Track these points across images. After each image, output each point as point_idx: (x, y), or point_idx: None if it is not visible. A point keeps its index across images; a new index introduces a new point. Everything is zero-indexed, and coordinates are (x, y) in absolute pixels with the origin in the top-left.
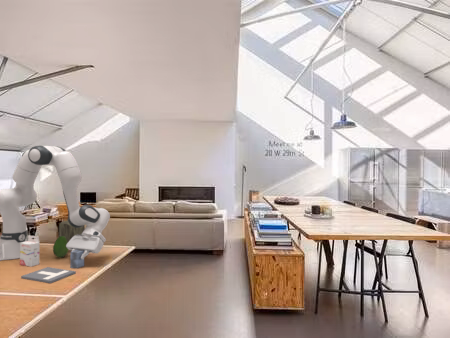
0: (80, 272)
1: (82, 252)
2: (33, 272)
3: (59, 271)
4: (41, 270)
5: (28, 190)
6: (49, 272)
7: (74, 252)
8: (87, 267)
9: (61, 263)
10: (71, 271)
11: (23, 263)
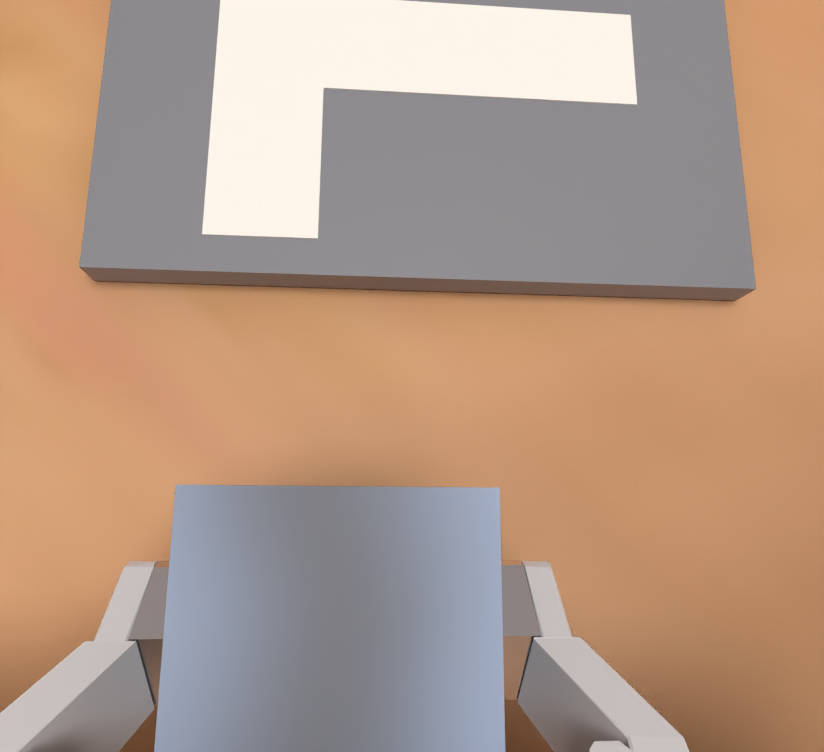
0: (44, 347)
1: (171, 738)
2: (702, 22)
3: (356, 171)
4: (679, 122)
5: None
6: (467, 82)
7: (319, 489)
8: None
9: (813, 645)
10: (147, 232)
11: None
